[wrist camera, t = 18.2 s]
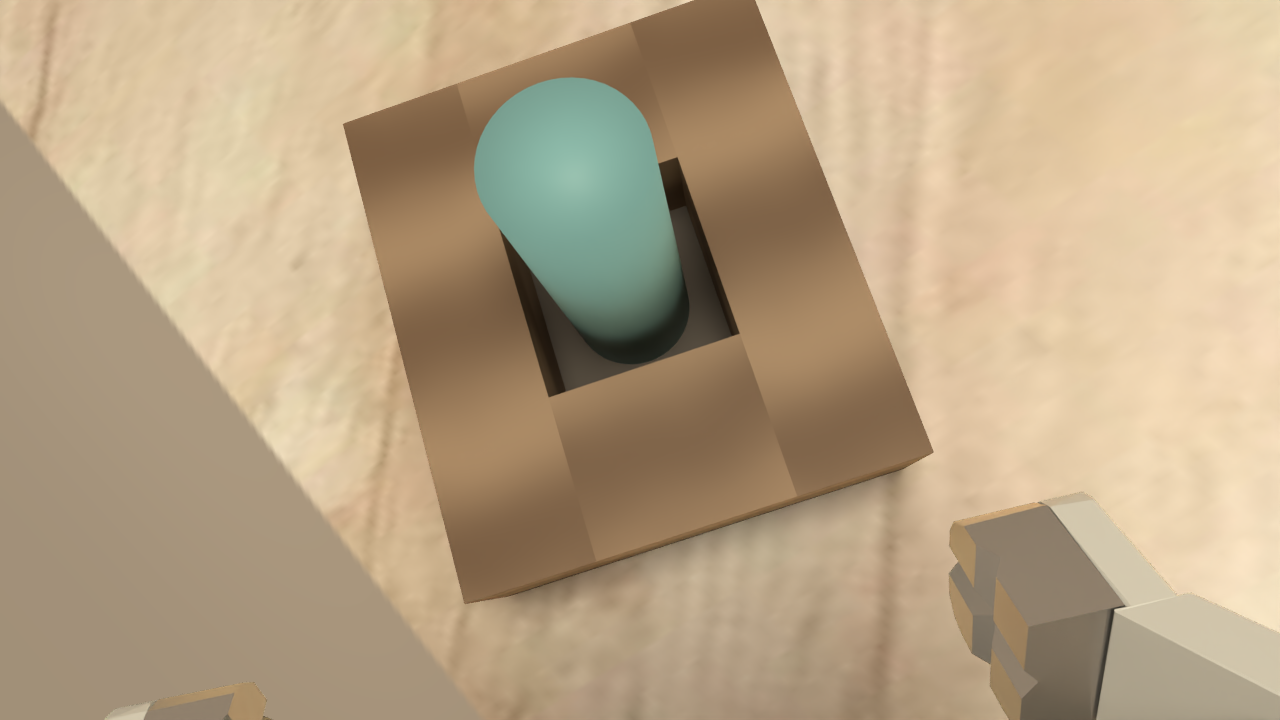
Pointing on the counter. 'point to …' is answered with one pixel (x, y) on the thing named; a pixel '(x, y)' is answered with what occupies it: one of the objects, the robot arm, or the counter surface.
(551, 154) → the teal pin
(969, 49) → the counter surface
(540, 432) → the walnut holder
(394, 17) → the counter surface
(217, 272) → the counter surface
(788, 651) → the counter surface
